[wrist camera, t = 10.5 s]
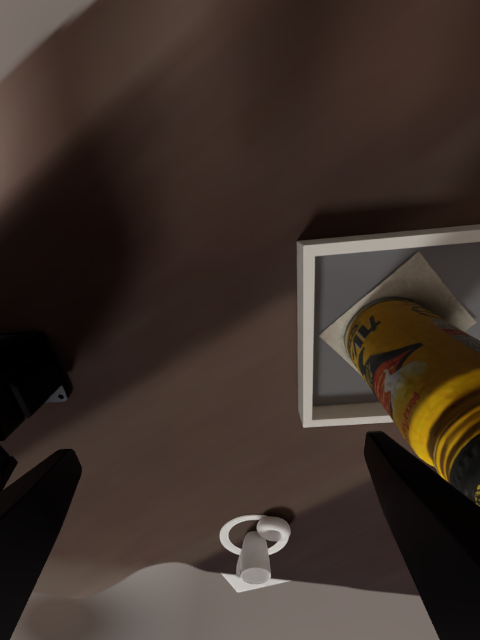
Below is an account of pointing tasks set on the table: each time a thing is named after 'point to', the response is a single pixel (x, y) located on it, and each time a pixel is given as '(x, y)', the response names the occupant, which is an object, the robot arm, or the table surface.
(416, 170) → the table surface
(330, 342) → the condiment
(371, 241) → the tray
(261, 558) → the white ring with post
